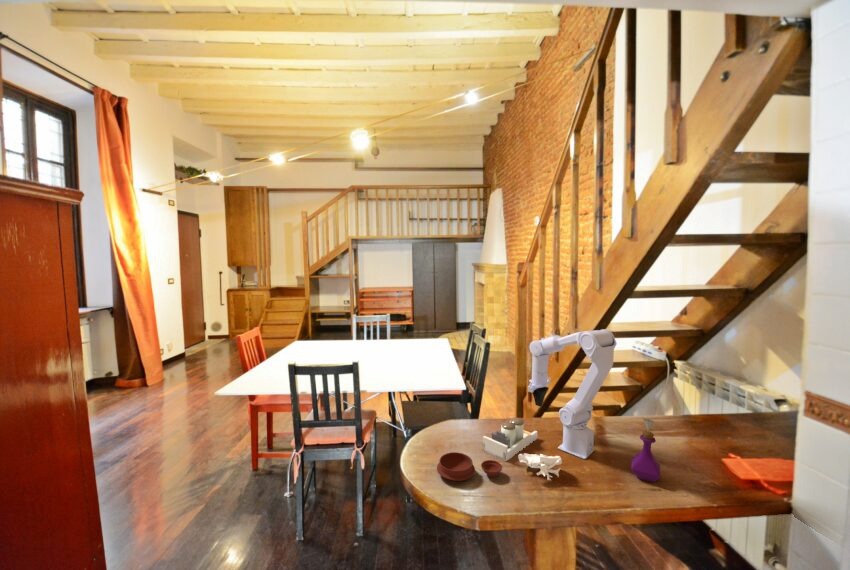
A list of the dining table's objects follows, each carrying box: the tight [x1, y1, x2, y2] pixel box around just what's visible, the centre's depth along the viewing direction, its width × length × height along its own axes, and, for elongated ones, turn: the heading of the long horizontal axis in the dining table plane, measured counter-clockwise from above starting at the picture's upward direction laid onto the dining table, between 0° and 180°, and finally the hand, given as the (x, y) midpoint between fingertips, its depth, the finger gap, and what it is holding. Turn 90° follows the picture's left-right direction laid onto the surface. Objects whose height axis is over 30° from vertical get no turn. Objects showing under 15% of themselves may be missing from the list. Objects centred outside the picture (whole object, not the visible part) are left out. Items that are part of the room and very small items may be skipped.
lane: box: [482, 429, 538, 462], centre depth 130 cm, size 9×21×5 cm, turn 135°
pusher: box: [491, 430, 510, 449], centre depth 125 cm, size 7×1×6 cm, turn 45°
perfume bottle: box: [631, 418, 662, 483], centre depth 111 cm, size 8×8×18 cm
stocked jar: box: [500, 421, 516, 447], centre depth 128 cm, size 5×5×7 cm
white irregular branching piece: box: [517, 453, 563, 482], centre depth 113 cm, size 12×7×12 cm
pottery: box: [436, 451, 503, 482], centre depth 112 cm, size 12×20×4 cm, turn 89°
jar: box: [509, 417, 525, 443], centre depth 131 cm, size 5×5×7 cm
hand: (538, 405), depth 141 cm, fingers closed
